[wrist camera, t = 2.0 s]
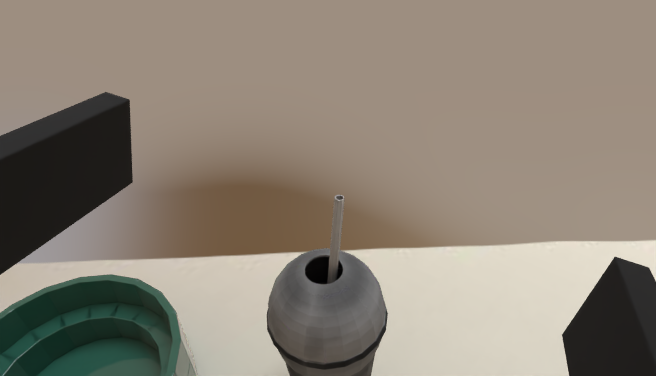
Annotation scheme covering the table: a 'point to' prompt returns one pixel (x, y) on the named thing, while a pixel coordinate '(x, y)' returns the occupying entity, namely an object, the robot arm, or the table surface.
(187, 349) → the green pet bowl
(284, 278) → the beverage cup
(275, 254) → the table surface
